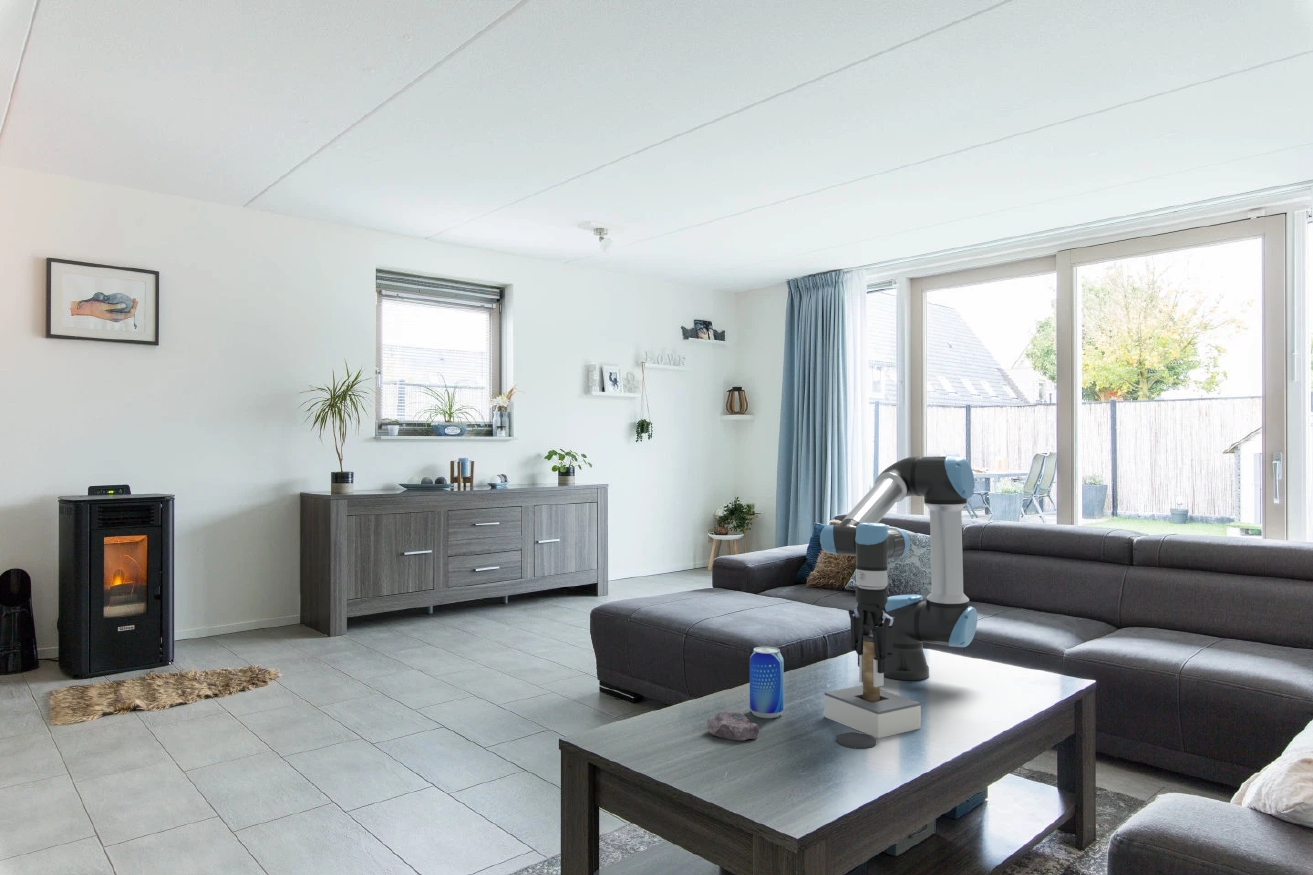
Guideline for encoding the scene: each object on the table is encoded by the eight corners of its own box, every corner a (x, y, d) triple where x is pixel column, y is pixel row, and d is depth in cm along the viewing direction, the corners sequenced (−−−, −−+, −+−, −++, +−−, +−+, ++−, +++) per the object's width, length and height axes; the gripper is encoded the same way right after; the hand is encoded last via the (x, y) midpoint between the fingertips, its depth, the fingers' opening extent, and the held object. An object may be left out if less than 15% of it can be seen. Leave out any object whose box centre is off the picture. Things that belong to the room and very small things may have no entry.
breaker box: (824, 716, 204) (824, 692, 204) (865, 708, 211) (865, 684, 211) (878, 738, 188) (878, 711, 188) (920, 728, 195) (920, 702, 195)
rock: (748, 745, 183) (748, 724, 183) (703, 736, 189) (703, 716, 190) (763, 735, 190) (763, 715, 190) (719, 726, 196) (719, 707, 196)
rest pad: (827, 738, 187) (827, 736, 187) (856, 732, 192) (856, 729, 192) (855, 751, 180) (855, 748, 180) (885, 744, 184) (885, 741, 184)
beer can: (787, 711, 208) (787, 647, 208) (777, 720, 200) (778, 654, 200) (755, 706, 211) (755, 644, 212) (745, 716, 204) (745, 651, 204)
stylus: (859, 701, 200) (859, 635, 201) (871, 699, 202) (871, 633, 203) (871, 705, 197) (871, 638, 197) (883, 703, 199) (883, 636, 199)
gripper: (835, 583, 206) (835, 677, 205) (886, 592, 191) (886, 694, 190) (857, 581, 209) (857, 673, 209) (909, 590, 195) (909, 690, 194)
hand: (871, 683), depth 200 cm, fingers closed on stylus, 4 cm apart
